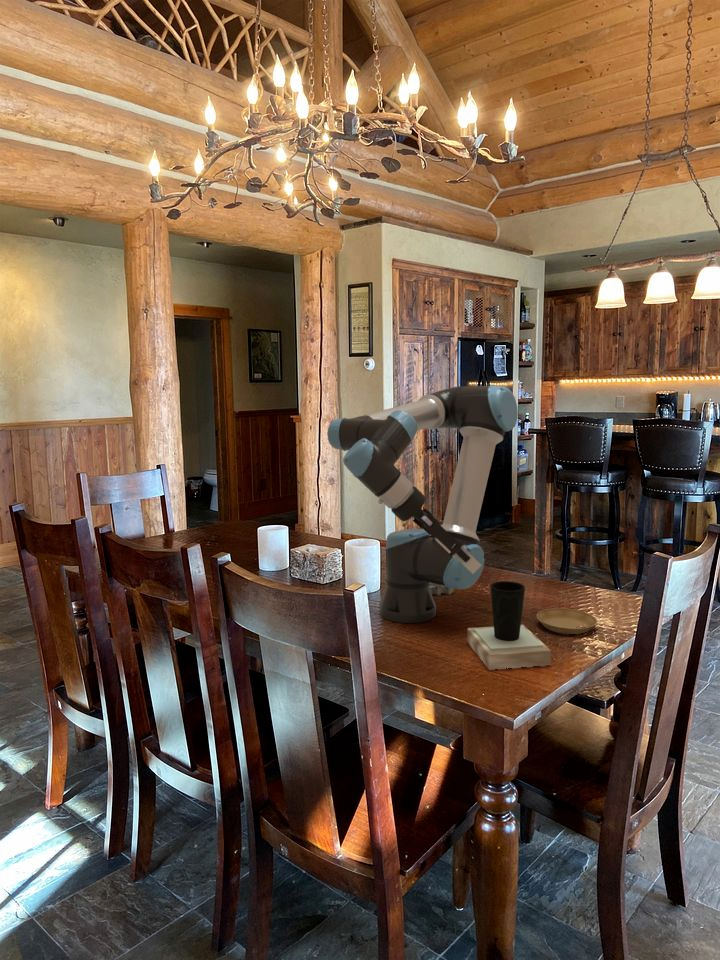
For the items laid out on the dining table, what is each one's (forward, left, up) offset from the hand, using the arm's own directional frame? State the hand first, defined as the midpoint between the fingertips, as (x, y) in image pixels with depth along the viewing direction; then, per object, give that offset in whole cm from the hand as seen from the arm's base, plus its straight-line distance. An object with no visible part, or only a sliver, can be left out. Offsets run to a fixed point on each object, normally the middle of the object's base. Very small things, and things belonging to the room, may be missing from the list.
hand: (466, 561), depth 147 cm
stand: (+1, +9, -22) cm, 24 cm away
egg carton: (-47, +5, -23) cm, 52 cm away
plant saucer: (-13, +30, -23) cm, 40 cm away
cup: (+1, +9, -18) cm, 21 cm away
